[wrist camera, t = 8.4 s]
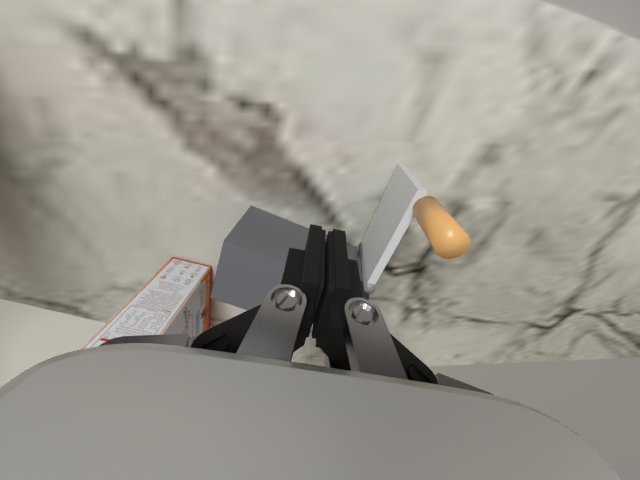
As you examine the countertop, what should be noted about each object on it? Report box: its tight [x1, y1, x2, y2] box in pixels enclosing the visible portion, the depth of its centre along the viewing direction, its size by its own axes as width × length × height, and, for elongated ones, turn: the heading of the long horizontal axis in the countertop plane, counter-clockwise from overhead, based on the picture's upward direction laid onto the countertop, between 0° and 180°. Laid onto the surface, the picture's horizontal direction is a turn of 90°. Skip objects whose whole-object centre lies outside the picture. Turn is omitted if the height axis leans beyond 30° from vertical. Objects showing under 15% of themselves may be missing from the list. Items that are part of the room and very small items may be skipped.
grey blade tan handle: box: [359, 164, 470, 294], centre depth 23 cm, size 11×2×13 cm, turn 163°
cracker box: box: [81, 257, 211, 349], centre depth 29 cm, size 14×6×21 cm, turn 165°
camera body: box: [210, 206, 369, 332], centre depth 29 cm, size 17×8×9 cm, turn 67°
